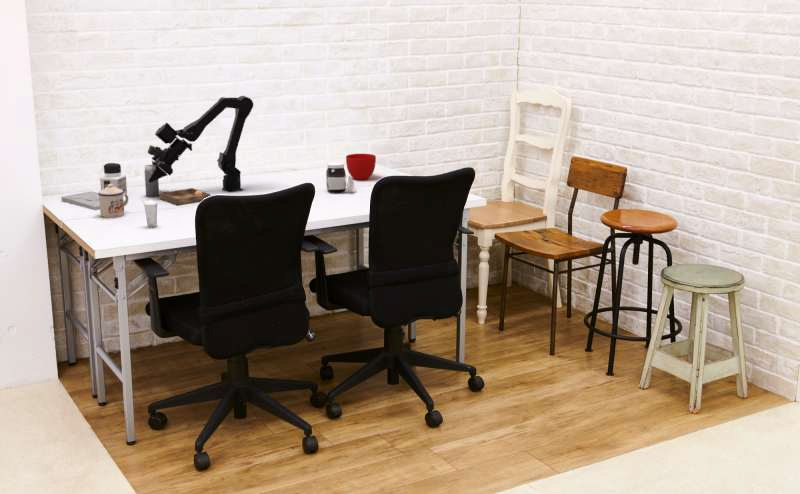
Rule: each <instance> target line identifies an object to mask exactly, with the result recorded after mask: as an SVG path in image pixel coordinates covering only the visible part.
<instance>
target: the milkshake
mask: <svg viewBox="0 0 800 494" xmlns="http://www.w3.org/2000/svg"><path fill="white" fill-rule="evenodd" d="M141 201H142V202H143V206H144V211H145V217H146V224H147V225H146V226H147V227H148V228H154V227H155V228H156V227H157V226H158V202H156V201H155V200H147V201H146V202H144V200H143V199H141Z"/></svg>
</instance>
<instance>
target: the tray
mask: <svg viewBox="0 0 800 494" xmlns="http://www.w3.org/2000/svg"><path fill="white" fill-rule="evenodd" d="M196 191H201V192H202V193H203V195H198V196H195V192H196ZM208 196H210V197H211V194H210V193H208V192H205V191H202V190H199V189H196V188H183V189H178V190H171V191H163V192H159V200H161V201H164V202H166V203H170V204H172V205H175V206H182V205H188V204H195V203H201V202H200V201H202V200H203V199H204V198H206V197H208Z"/></svg>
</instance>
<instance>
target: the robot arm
mask: <svg viewBox="0 0 800 494" xmlns="http://www.w3.org/2000/svg"><path fill="white" fill-rule="evenodd" d="M226 109H234V110H235V111H234V112H235V114H234V116H235V117H234V120H233V123H232V127H231V130H230V133H229V137H228V140H227V144H226V146H225V150H224V151H223V152H221V151H220V152H219V156H218V159H217V161H216V162H217V165H218V168H219V169H220V170H221V171H222V173H223V174H224V175H222V176H223V177H222V178H223V179H222V188H221V190H223V191H225V192H228V193H229V192H237V191H238V192H239V191H244V188H242V186H241V183H242V182H241V174H242V173H241V170H239V169H238V168H237V167H236V162H237V150H238V146H239V143H240V140H241V137H242V133H243V129H244V127H245V123H246V120H247V118H248V117H249V116H250V115H251V112H252V109H254V101H253V99H251V97H248V96H246V95H240V96H238V97H224V96H222V97H220V98H219V99H218V101H216V102H215V103H214V104H213V105H212V106H211V107H210V108H209V109H207V110H206V112H205V113H203V114H202V115H201V116H200V117H199V118H198V119H196V120H194V121H192V122H191V123H189V124H187V125H186V126H184V127H183V128H182V129H177V130H175V129H174V128H173V127H172V126H171V125H170V123H168V122H165V123H164V124H163V125H162V126H160V127H158V129H157V130H156V131H155V134H154V135H155V136H156V137H157V139H159V140H161V142H163V143H164V144H165V145H167V144H169V146H168V147H164V149H162V148H161V147H159V146H154V145H151V144H150V145H149V147H148V150H147V153H148V155H151V156H152V157H151V165H155V171H154V173H153V174H152V176H151V177H150V179H149V180H148V181H149V182H150V183H151V182H153V181H155V180H157V179H158V180H159V179H162V178H164V177H167V176H171V175H172V174H173V173H174V169H173V168H172V167H173V166H172V165H173V164H174V163H175V162H176V161H177V162H178V160H180V157H181V156H182V155H183V153H184V152H185V151H186V150H187V149H188V150H189V151H190V152H192V151H193V142H196V141H197V140H198V139H199V138H200V136H201V135H202V134H203V132H204V130H205V128H207V126H209V124H211V122H213V121H214V120H215V119H216V118H217V117H218V116H219V115H220V114H221V113H222V112H224V110H226ZM180 138H181V139H180ZM187 141H188V142H187ZM189 142H190V143H189ZM191 142H192V143H191Z"/></svg>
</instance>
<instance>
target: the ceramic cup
mask: <svg viewBox="0 0 800 494" xmlns="http://www.w3.org/2000/svg"><path fill="white" fill-rule="evenodd" d="M376 157H377V156H376V155H375V154H370V153H352V154H347V155H346V156H345V163H346V169H347V171H348V173H349V175H350V177H351V178H352V180H353V181H366V180H369V179H370V178H371V176H372V175H373V173H374V171H375V169H376V162H377V159H376Z"/></svg>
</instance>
